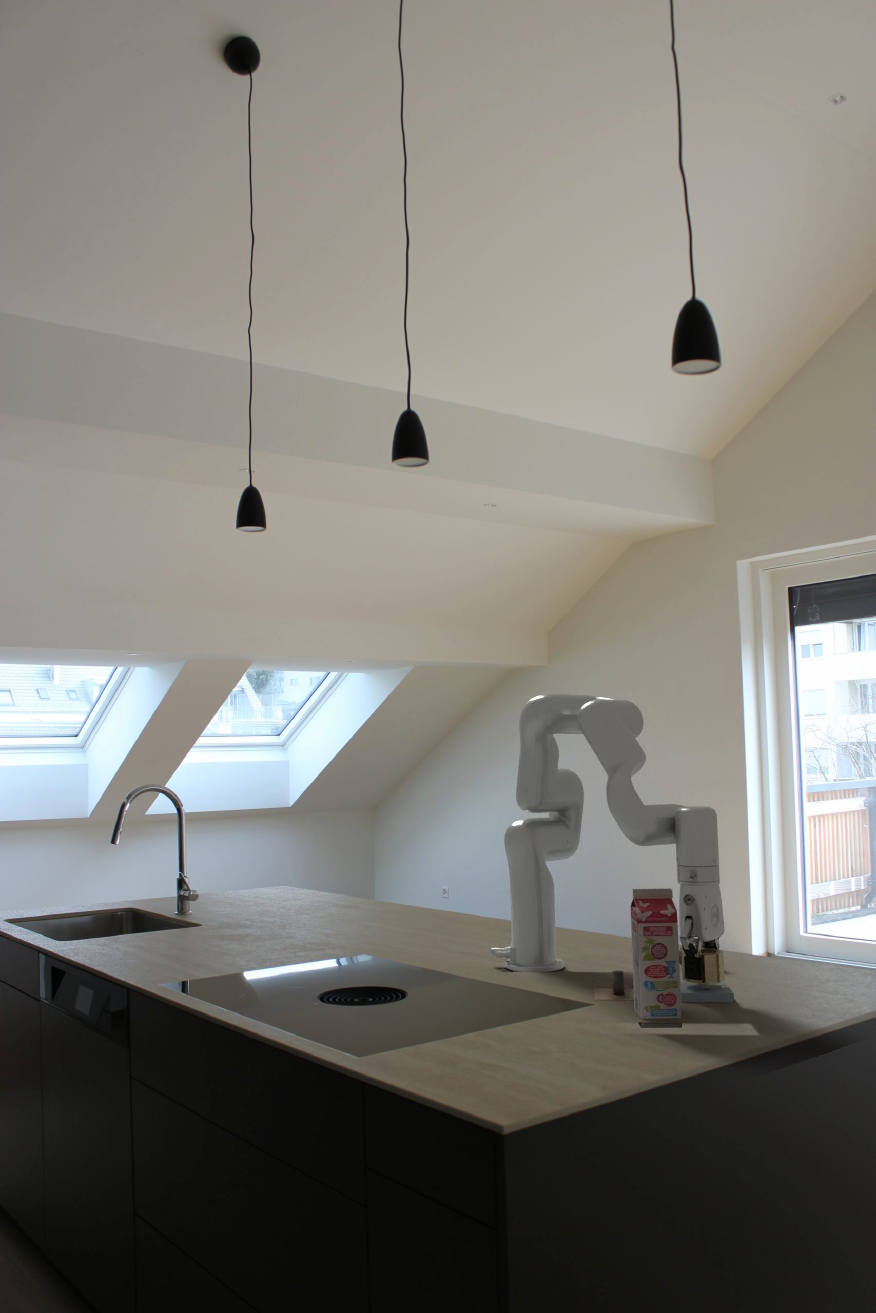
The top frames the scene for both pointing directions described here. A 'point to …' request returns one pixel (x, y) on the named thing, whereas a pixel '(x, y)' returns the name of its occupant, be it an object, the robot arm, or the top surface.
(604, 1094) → the top surface
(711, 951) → the ring
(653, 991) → the juice carton
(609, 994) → the stand
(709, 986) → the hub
